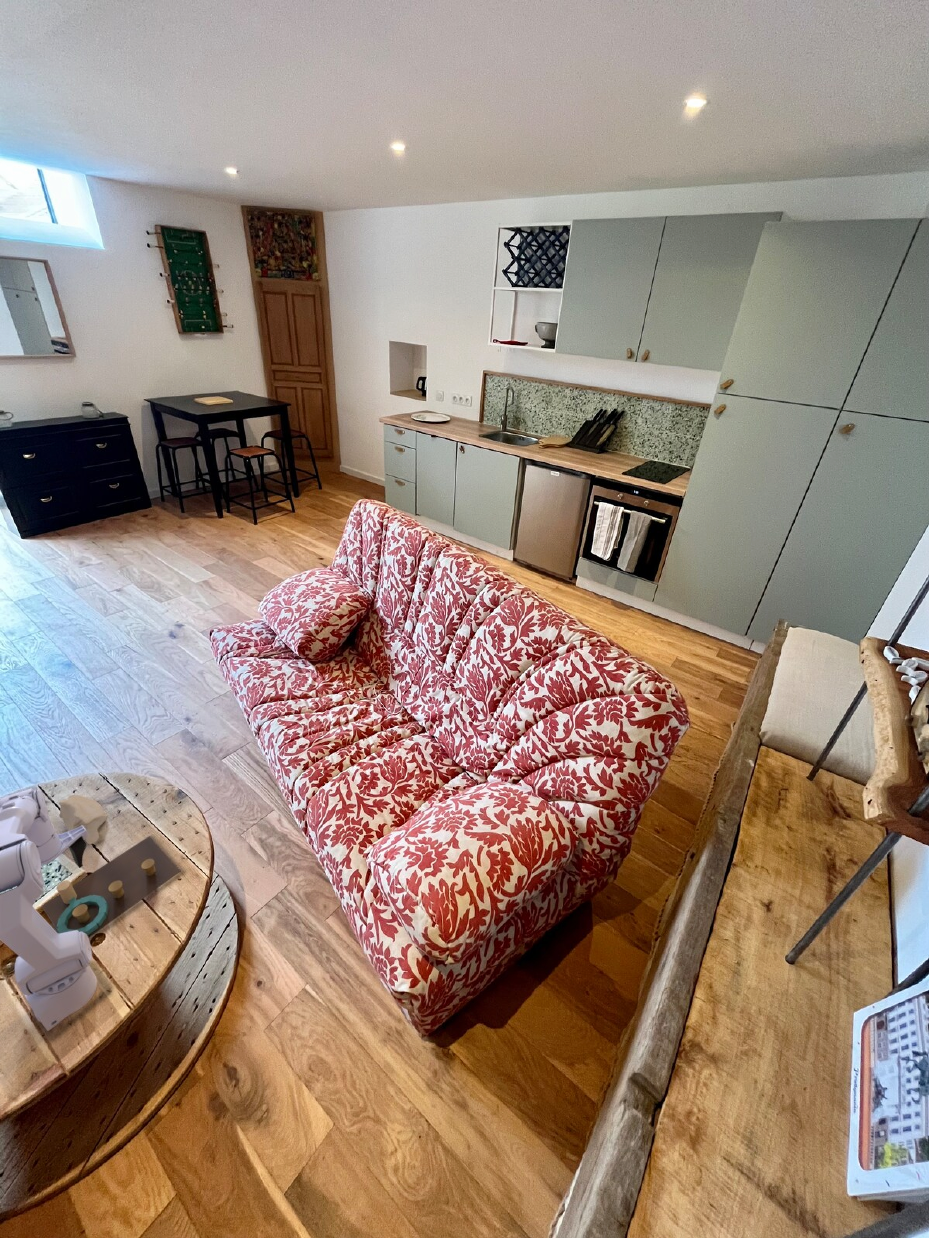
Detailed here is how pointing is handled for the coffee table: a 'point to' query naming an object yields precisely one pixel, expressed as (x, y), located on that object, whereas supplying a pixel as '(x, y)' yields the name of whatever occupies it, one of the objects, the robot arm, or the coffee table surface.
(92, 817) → the decorative stone
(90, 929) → the ring
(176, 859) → the coffee table surface
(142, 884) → the rack
